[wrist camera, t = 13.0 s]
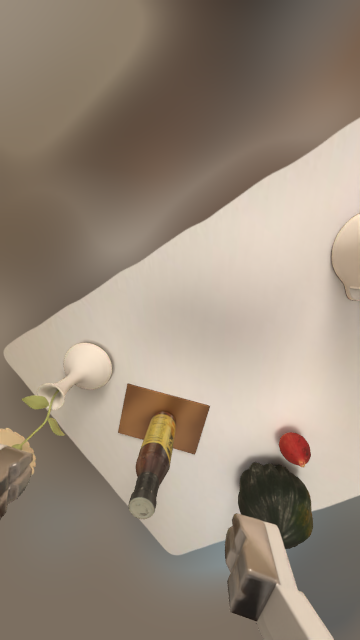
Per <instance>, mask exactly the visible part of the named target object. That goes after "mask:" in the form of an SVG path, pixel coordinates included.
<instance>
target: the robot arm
mask: <svg viewBox="0 0 360 640" xmlns="http://www.w3.org/2000/svg"><path fill="white" fill-rule="evenodd" d="M332 264H333V268H334V270H335V273H336V274H337V276H338V277H339V278H340V280H341V281H342V282H343V284H344V285H345V290H346V294H347V297H348V298H349V299H350V300H359V301H360V213H359V214H357V215H356V216H354V217H353V218H352V219H350V220H349V221H348V222H347V223H346V224H345V225H344V226H343V227H342V229H341V230H340V232H339V233H338V235H337V237H336V239H335V241H334V244H333V248H332ZM32 461H33V454H32V453H29V452H25V451H22V450H19V449H16V448H13V447H10V446H7V445H4V444H0V519H1V518H2V517H3V516H4V514H5V513H6V510H7V505H8V504H9V503H11V502H12V501H14V500H16V499H18V497H19V496H20V495H21V494H22V492H23V491H24V490H25V488H26V486H27V484H28V483H29V481H30V478H31V475H32V468H31V467H30V465H29V464H30V463H31V462H32ZM232 524H233V526H232V527H230V528H229V529H228V531H227V534H226V541H225V559H226V564H227V566H228V568H229V570H230V572H231V574H230V576H229V578H228V581H227V582H228V593H229V605H230V612H232V613H235V614H237V615H240V616H243V617H246V618H249V619H252V620H254V621H257V623H256V624H257V626H258V629H259V631H260V634H261V636H262V638H263V640H334V639H333V637H332V635H331V634H330V633H329V631H328V630H327V628H326V627H325V625H324V624H323V622H322V621H321V619H320V618H319V616H318V615H317V613H316V612H315V610H314V609H313V607H312V606H311V604H310V603H309V601H308V600H307V598H306V597H305V595H304V594H303V592H300V591H298V589H297V586H296V583H295V579H294V576H293V573H292V570H291V566H290V563H289V560H288V557H287V554H286V550H285V547H284V544H283V541H282V537H281V534H280V531H279V529H278V527H277V525H275V524H271V523H268V522H264V521H261V520H259V519H255V518H252V517H248V516H244V515H241V514H237V513H236V514H235V515H234V516H233V519H232Z"/></svg>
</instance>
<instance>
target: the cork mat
mask: <svg viewBox="0 0 360 640" xmlns="http://www.w3.org/2000/svg"><path fill="white" fill-rule="evenodd" d="M209 407H210V406H208V405H205V404H201V403H197V402H193V401H190V400H186V399H182V398H179V397H175V396H171V395H168V394H164V393H160V392H157V391H153V390H149V389H146V388H142V387H138V386H134V385H131V384H127V389H126V394H125V399H124V405H123V410H122V415H121V420H120V425H119V431H118V433H121V434H125V435H128V436H132V437H135V438H139V439H142V440H144V438H145V435H146V432H147V430H148V427H149V424H150V421H151V419H152V418H153V416H154V415H155V414H156V413H158V412H168V413H169V414H171V415H172V416H173V417H174V418H175V422H176V431H175V437H174V443H173V448H174V449H178V450H181V451H185V452H188V453H192V454H195V453H196V449H197V446H198V443H199V440H200V437H201V433H202V430H203V427H204V424H205V420H206V417H207V414H208V411H209Z"/></svg>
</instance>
